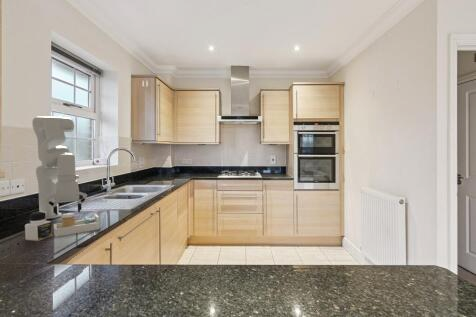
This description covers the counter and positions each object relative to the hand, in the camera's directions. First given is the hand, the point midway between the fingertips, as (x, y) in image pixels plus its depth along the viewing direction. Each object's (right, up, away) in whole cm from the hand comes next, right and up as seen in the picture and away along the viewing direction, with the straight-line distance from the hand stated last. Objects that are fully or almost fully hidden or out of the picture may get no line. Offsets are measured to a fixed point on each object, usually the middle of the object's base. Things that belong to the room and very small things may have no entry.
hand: (67, 212), depth 136 cm
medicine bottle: (-8, -10, -9) cm, 16 cm away
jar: (0, -8, 0) cm, 8 cm away
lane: (+3, -9, +2) cm, 10 cm away
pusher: (+8, -8, +6) cm, 12 cm away
